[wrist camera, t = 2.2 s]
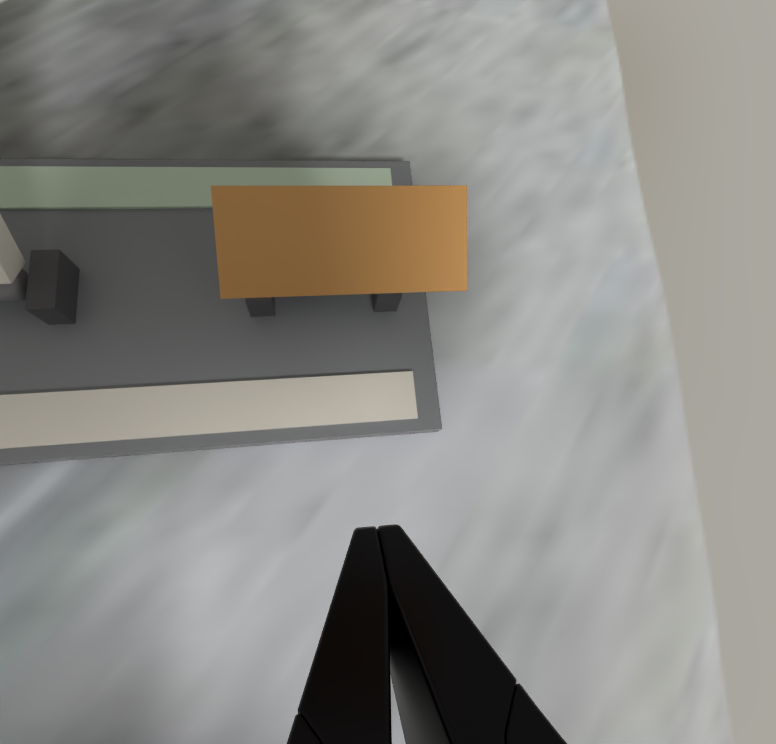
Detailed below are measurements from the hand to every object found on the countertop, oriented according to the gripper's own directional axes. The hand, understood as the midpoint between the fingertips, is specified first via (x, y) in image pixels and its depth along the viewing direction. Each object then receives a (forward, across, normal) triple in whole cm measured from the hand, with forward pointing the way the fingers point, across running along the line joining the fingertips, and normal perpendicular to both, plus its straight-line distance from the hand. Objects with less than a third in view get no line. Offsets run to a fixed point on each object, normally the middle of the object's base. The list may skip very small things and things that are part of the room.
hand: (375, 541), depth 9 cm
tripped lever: (+13, +1, -1) cm, 13 cm away
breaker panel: (+15, +7, +1) cm, 16 cm away
